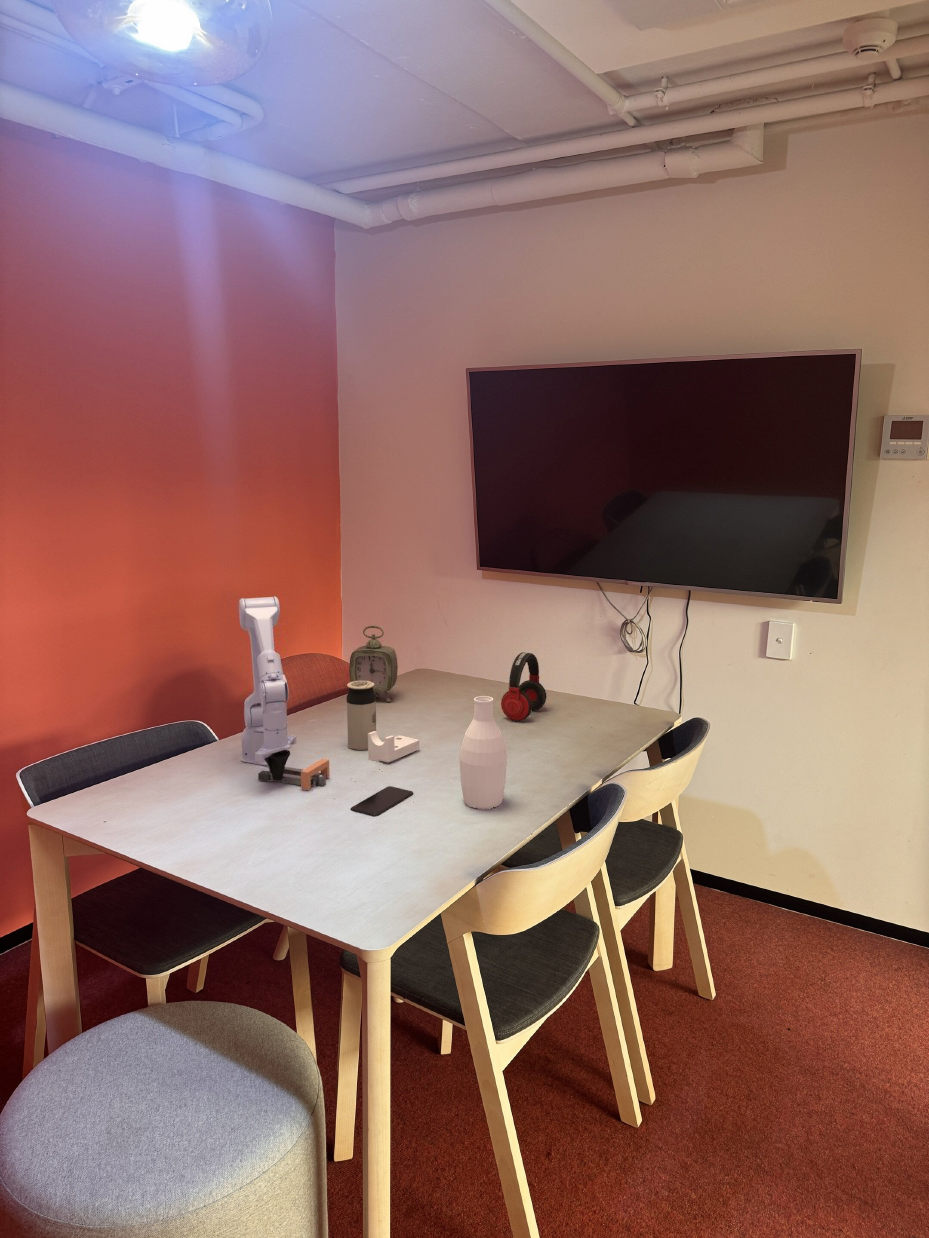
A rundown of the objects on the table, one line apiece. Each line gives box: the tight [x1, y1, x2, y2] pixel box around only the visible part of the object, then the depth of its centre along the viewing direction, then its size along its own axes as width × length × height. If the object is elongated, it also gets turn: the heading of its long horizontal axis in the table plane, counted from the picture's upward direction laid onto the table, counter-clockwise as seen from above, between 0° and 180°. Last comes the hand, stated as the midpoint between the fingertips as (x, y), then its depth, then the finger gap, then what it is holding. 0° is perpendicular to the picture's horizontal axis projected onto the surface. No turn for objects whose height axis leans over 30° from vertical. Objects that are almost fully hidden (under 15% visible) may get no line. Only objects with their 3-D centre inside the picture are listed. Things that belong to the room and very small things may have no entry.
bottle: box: [459, 695, 508, 810], centre depth 202 cm, size 11×11×25 cm
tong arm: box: [257, 770, 315, 787], centre depth 216 cm, size 14×2×2 cm, turn 71°
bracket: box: [367, 730, 420, 763], centre depth 236 cm, size 13×7×8 cm, turn 144°
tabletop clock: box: [348, 625, 399, 703], centre depth 286 cm, size 14×9×25 cm, turn 81°
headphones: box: [500, 651, 547, 722], centre depth 270 cm, size 18×10×20 cm, turn 153°
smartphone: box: [350, 785, 414, 817], centre depth 205 cm, size 8×1×16 cm
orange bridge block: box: [300, 758, 331, 791], centre depth 216 cm, size 2×10×4 cm, turn 157°
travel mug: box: [346, 681, 377, 751], centre depth 242 cm, size 8×8×18 cm
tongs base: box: [268, 766, 327, 788], centre depth 219 cm, size 17×4×3 cm, turn 67°
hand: (277, 779), depth 216 cm, fingers closed
